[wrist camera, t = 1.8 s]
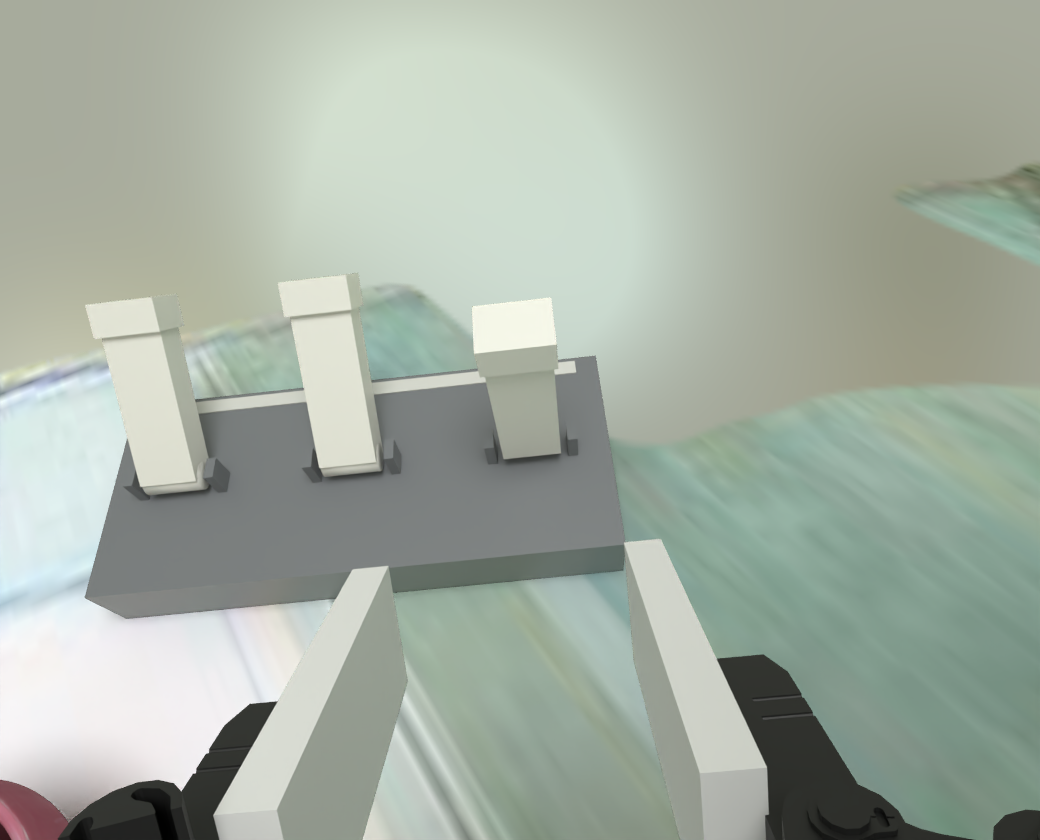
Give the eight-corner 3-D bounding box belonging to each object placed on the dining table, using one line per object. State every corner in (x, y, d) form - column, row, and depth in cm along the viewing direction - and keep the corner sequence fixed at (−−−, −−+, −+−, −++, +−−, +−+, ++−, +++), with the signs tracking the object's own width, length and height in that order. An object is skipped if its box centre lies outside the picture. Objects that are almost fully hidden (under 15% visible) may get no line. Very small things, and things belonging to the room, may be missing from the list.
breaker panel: (622, 570, 45) (627, 530, 39) (126, 618, 46) (62, 586, 41) (595, 391, 52) (595, 337, 47) (168, 437, 54) (118, 389, 48)
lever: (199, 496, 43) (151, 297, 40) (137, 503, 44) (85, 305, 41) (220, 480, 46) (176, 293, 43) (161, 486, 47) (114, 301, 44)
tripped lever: (565, 465, 44) (556, 344, 33) (502, 471, 44) (474, 353, 33) (560, 425, 45) (550, 297, 35) (499, 431, 46) (472, 306, 35)
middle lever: (380, 477, 43) (345, 274, 40) (316, 484, 43) (277, 282, 40) (389, 462, 46) (358, 272, 43) (330, 469, 46) (294, 280, 43)
